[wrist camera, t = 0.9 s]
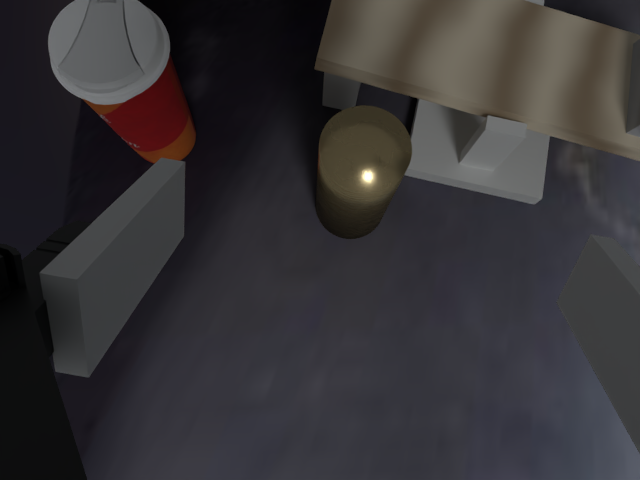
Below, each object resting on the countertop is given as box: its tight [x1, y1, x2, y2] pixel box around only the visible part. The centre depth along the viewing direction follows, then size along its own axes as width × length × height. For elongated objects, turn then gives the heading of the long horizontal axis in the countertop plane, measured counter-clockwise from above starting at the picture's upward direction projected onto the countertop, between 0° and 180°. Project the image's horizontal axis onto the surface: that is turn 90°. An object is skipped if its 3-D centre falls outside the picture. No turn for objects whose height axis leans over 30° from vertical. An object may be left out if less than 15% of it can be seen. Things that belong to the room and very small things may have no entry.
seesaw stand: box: [322, 0, 550, 204], centre depth 42 cm, size 20×16×8 cm
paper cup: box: [48, 0, 196, 164], centre depth 37 cm, size 8×8×14 cm
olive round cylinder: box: [316, 106, 412, 239], centre depth 37 cm, size 6×6×12 cm
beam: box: [314, 0, 640, 161], centre depth 37 cm, size 30×10×6 cm, turn 77°
